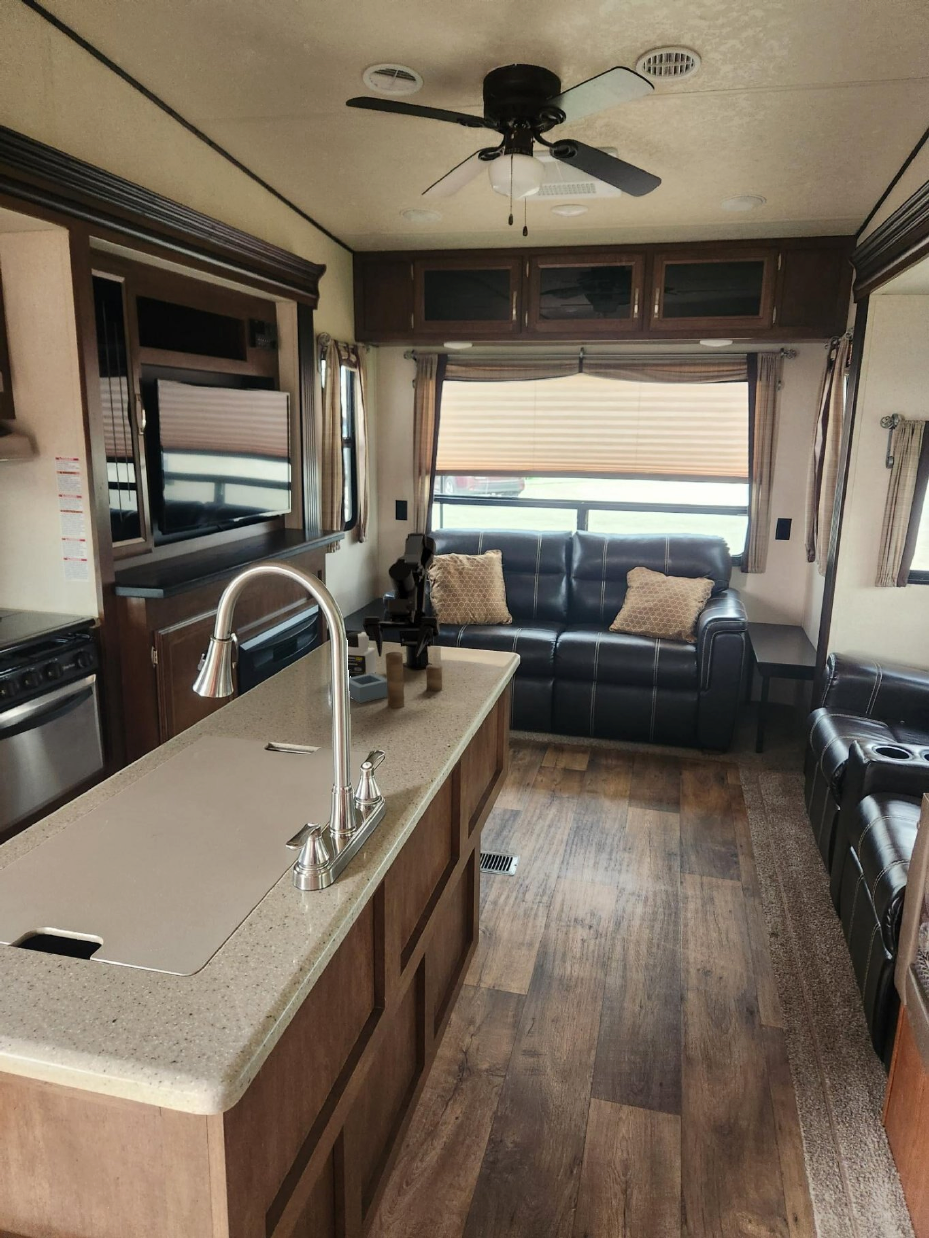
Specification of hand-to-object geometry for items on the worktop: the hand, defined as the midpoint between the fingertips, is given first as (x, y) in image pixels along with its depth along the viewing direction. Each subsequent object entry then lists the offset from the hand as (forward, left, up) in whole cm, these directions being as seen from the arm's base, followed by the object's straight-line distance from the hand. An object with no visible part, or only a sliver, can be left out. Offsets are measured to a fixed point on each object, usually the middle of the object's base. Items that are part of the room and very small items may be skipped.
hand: (398, 656), depth 205 cm
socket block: (-8, -5, -11) cm, 14 cm away
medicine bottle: (-24, +2, -11) cm, 27 cm away
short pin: (-1, +11, -11) cm, 16 cm away
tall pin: (+4, -3, -11) cm, 12 cm away
